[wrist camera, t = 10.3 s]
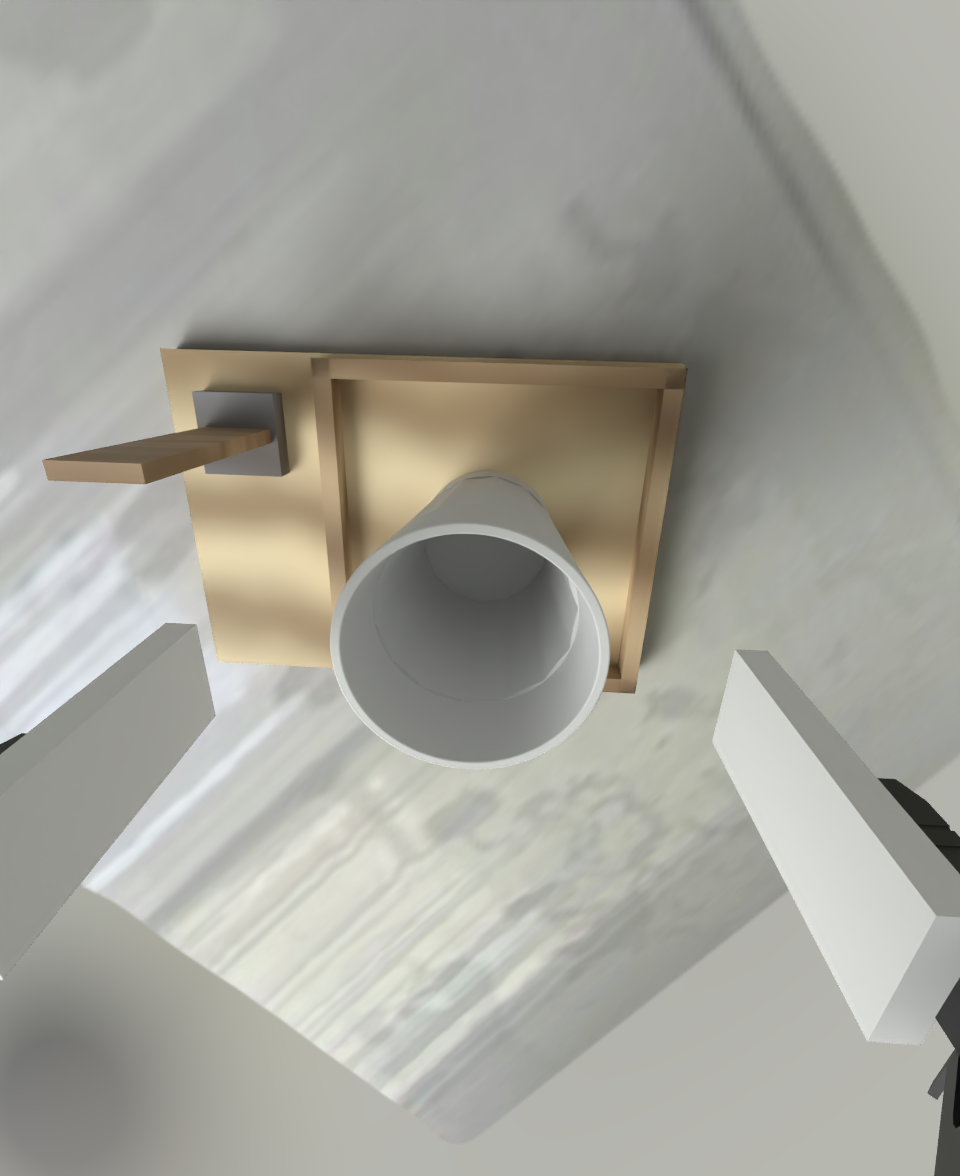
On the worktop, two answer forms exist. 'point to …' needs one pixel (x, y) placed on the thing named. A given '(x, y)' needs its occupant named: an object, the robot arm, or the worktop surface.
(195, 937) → the worktop surface
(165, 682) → the robot arm
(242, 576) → the board
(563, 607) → the cup
